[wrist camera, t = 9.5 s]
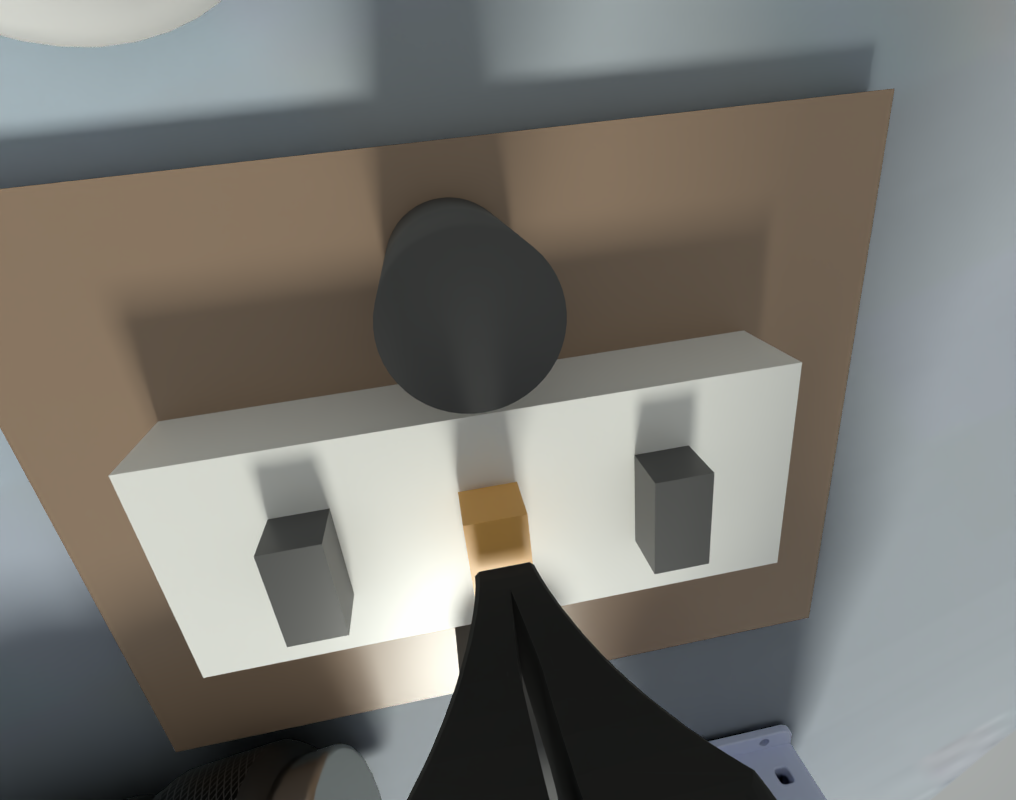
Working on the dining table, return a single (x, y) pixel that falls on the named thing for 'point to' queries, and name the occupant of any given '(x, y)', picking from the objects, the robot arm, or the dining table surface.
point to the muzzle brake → (278, 776)
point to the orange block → (495, 527)
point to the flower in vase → (95, 20)
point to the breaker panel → (311, 330)
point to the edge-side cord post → (466, 309)
